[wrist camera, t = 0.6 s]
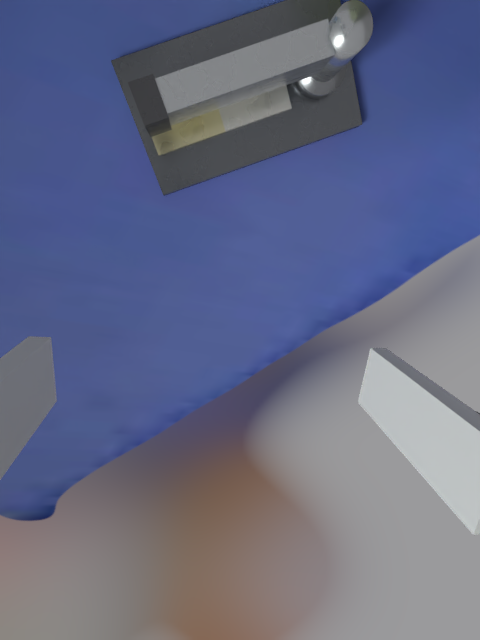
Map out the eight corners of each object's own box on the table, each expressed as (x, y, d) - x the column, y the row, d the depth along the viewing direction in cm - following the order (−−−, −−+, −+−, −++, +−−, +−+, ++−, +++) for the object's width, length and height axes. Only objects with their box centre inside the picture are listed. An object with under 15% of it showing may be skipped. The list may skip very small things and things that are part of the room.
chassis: (113, 65, 30) (107, 54, 28) (332, -11, 31) (342, -27, 29) (164, 195, 34) (162, 194, 32) (357, 126, 35) (368, 120, 33)
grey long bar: (335, 36, 30) (368, -7, 24) (343, 75, 31) (376, 44, 25) (139, 104, 29) (125, 78, 24) (153, 142, 30) (143, 125, 25)
